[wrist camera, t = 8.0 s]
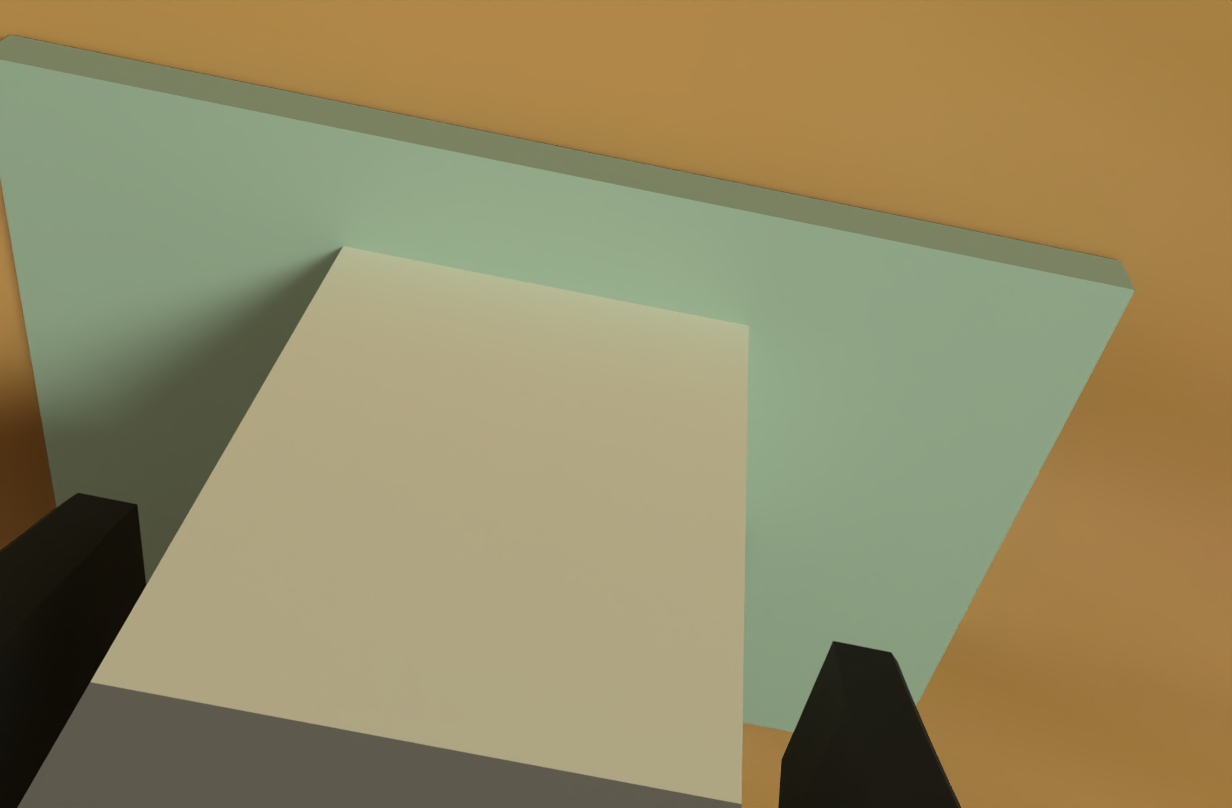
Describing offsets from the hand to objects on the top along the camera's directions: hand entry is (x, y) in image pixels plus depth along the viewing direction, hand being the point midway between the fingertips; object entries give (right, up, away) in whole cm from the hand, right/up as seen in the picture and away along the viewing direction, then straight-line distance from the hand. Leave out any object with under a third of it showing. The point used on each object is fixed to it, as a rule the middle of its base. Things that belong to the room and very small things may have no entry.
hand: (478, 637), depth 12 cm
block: (0, +1, +2) cm, 3 cm away
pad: (0, +2, +3) cm, 3 cm away
